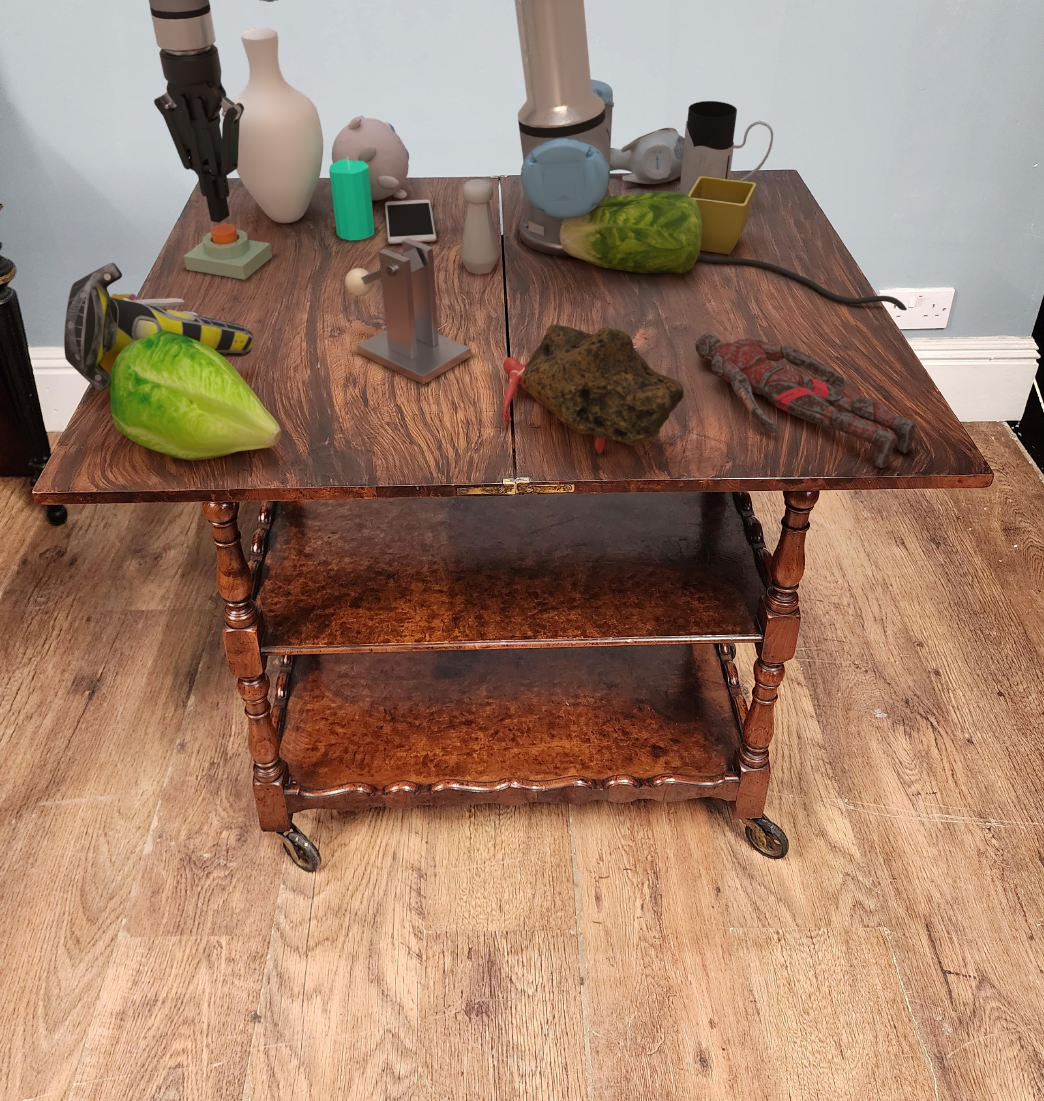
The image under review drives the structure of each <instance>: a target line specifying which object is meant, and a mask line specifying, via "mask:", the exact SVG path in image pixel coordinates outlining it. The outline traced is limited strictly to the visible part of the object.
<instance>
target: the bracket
mask: <svg viewBox="0 0 1044 1101" xmlns="http://www.w3.org/2000/svg"><path fill="white" fill-rule="evenodd" d="M401 244H402V253H405V252H407V251H410V250H412V249H415V248H416V250H417V252H418V255H419V257H420V259H421V261H422V263H423V266H424V267H422V268H420V269H418V270H416V271H414V272H412V273H411V265H410V259H409V258H406V257H404V256H401V255H400V254H399V253H397V252H394V251H391V250H389V249H386V248H383V249H381V250H379V251H378V255H379V256H378V257H379V267H380V268H379V269H381V278H380V279H381V288H382V289H381V290H382V298H383V299H382V300H383V308H384V319H385V320H384V321H385V327H386V328H385V329H384V330H382V331H380V332H377V333H376V334H375V335H373V336H371V337H369V338H367V339H366V340H364V341H361V342H360V343H358V344H357V345H356V350H357V354H358V355H360V356H362V357H364V358H367V359H369V360H371V361H372V362H375V363H377V364H378V365H381V366H383V367H385V368H387V369H390V370H391V371H394V372H396V373H398V374H400V375H402V376H404V377H407V378H408V379H410V380H412V381H415V382H417V383H419V384H421V385H423V386H424V385H425V384H427V383H429V382H430V381H432V380H434V379H435V378H438V377H439V376H441V375H443V374H444V373H446V372H447V371H449V370H450V369H452V368H454V367H455V366H457V365H459V364H461V363H463V362H464V361H466V360H468V359H469V358H471V356H472V351H471V350H472V348H471V347H469V346H467V345H466V344H463V343H461V342H458V341H456V340H453V339H452V338H449V337H447V336H446V335H442V334H440V333H439V325H438V309H437V308H438V307H437V294H436V292H437V291H436V277H435V261H434V248H433V246H429V245H427V244H425V243H423V242H417V241H414V240H412V239H409V238H406V239H404V240H402V243H401Z"/></svg>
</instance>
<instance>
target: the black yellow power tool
mask: <svg viewBox="0 0 1044 1101" xmlns="http://www.w3.org/2000/svg"><path fill="white" fill-rule="evenodd" d="M122 277H123V273H122V271H121V270H120V269H119V267H118V266H117V264H116V263H115V262H110V263H107V264H106V265H104V266H101V267H100V268H98V269H96V270H94V271H92V272H90V273H88V274H87V275H85V276H84V277H81V278H80V279H78V280H76V281H74V283H72V285H71V287H70V291H69V294H68V298H67V305H66V312H65V322H64V335H63V336H64V337H63V349H64V357H65V360H66V361H67V362H68V363H69V365H71V366H72V367H73V369H75V370H76V371H77V372H78V373H79V374H80V375H81V377H83V378H84V379H85V380H86V381H87V382H88V383H89V384H90V385H91V386H93V387H94V388H95V389H96V390H97V391H99V392H102V391H104V390H105V389H106V388H108V386H110V375H109V374H108V373H107V372H106V371H105V370H104V369H103V368H102V366H101V364H100V363H101V362H102V360H103V359H104V356H105V353H106V352H111V351H114V352H121V351H122V350H123V349H124V347H126V346H127V345H129V344H130V343H132V342H133V341H136V340H139V339H141V338H144V337H147V336H150V335H152V334H155V333H157V332H160V331H162V330H166V331H170V332H173V333H177V334H181V335H184V336H187V337H189V338H191V339H194V340H196V341H199V342H201V343H203V344H205V345H208V346H210V347H211V348H212V349H214V350H215V351H216V352H218V353H219V354H220V355H222V356H223V357H224V358H243V357H247V356H248V355H249V354H251V352H252V351H253V349H254V343H255V341H254V340H255V338H254V337H255V336H254V334H253V332H252V330H250V328H248V327H247V326H244V325H242V324H239V323H234V322H230V321H225V320H220V319H215V318H210V317H206V316H201V315H198V316H197V315H192V314H188V313H183V311H178V310H175V309H169V308H165V307H155V306H150V305H145V304H141V303H136V302H131V301H126V300H121V299H117V298H113V297H111V295H110V293H109V290H108V287H109V286H111V285H112V284H114V283H115V282H117V281H119V280H120V279H122Z"/></svg>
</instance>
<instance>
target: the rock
mask: <svg viewBox="0 0 1044 1101" xmlns="http://www.w3.org/2000/svg"><path fill="white" fill-rule="evenodd" d="M526 363H527V362H526ZM522 382H523V384H524V386H525V388H526V390H525V391H527V392H528V393H529V394H530V395H531V396H532V397H533V399H534V400H536V401H537V402H538V403H539V404H540V405H542V407H544V408H546V410H548V411H550V412H551V413H552V414H553V415H555V417H557V419H559V420H560V421H561V422H562V423H563V424H564V425H566V426H567V427H568V428H570V429H571V430H573V431H575V432H577V433H580V434H583V435H593V436H595V438H596V437H597V438H601V439H605V440H606V439H608V440H613V441H618V442H619V443H624V444H626V445H638V444H639V445H644V444H649V443H651V442H653V441H655V439H656V438H657V437H658V436H659V435H660V432H661V428H662V427H663V426H664V424H665V423H666V422H667V421H668V419H670V414H671V413H672V412H673V411H674V410H675V409H676V408H677V407H678V405H679V403H680V402H682V400H683V399H684V396H685V395H684V387H683V384H682V383H681V382H679V381H678V380H676V379H674V378H672V377H670V376H669V377H668V376H667V375H664V374H662V373H661V374H660V373H659V372H657V371H656V370H654V369H653V368H652V367H651V366H650V365H649V364H648V362H646V360H645V359H644V357H643V356H642V355H640V353H639V352H638V350H636V349H635V347H634V342H633V339H632V337H631V336H630V334H629V332H627V331H626V330H623V329H619V328H614V329H612V328H611V327H610V326H603V327H601V328H599V329H598V330H597V331H596V332H595V333H594V334H593V333H589V332H586V331H585V330H582V329H577V328H574V327H570V326H567V325H561V324H560V323H556V324H555V323H554V324H553V323H552V324H550V325H548V327H547V328H546V331H545V334H544V336H543V338H542V340H541V342H540V344H539V346H538V347H537V348H536V349H535V350H533V352H532V355H531V357H530V359H529V361H528V363H527V364H526V365H525V369H524V372H523V374H522Z"/></svg>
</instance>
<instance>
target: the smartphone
mask: <svg viewBox="0 0 1044 1101" xmlns="http://www.w3.org/2000/svg"><path fill="white" fill-rule="evenodd" d="M384 210H385V222H386V234H387V243H388V244H390V245H394V244H395V245H396V244H397V245H398V244H402V240H404V239H406V238H409V239H412V240H414V241H417V242H420V243H427V242H430V243H431V242H436V241H437V239H438V238H437V233H436V227H435V226H436V225H435V221H434V213H433V207H432V203H431V200H430V199H411V200H395V201H393V200H392V201H386V202H385V203H384Z"/></svg>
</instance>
